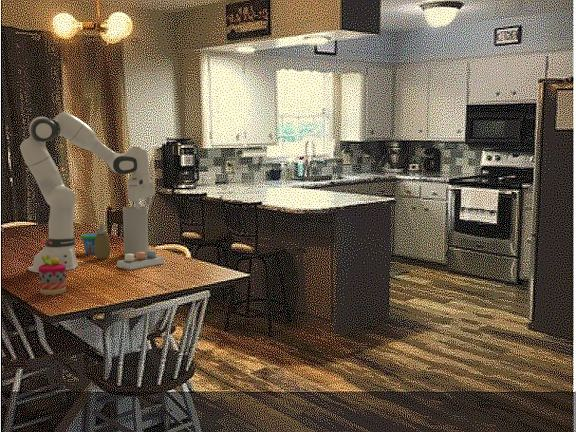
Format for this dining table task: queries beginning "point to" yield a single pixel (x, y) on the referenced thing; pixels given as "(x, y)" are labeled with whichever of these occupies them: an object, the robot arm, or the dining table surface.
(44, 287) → the cake
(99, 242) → the squeeze bottle
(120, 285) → the dining table surface
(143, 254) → the terracotta button
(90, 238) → the snack cup
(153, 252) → the slate button
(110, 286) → the dining table surface
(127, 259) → the ivory button
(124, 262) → the panel
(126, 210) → the cylinder vase
